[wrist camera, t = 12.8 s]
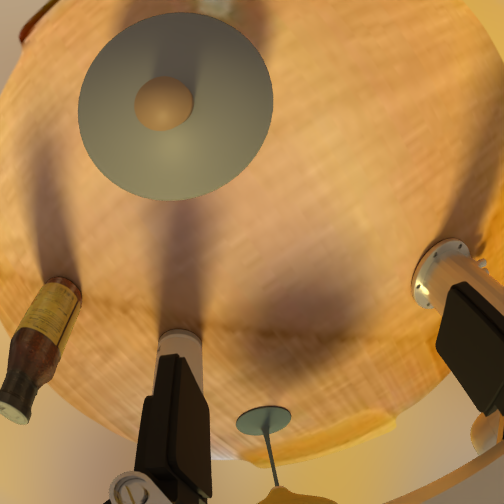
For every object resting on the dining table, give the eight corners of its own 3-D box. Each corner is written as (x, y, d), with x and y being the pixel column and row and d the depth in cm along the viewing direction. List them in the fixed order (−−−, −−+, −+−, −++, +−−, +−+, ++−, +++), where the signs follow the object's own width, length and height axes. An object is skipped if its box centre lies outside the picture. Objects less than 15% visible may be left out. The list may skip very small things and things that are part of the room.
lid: (236, -6, 19) (245, -35, 13) (293, 160, 26) (316, 176, 20) (61, 66, 19) (26, 60, 13) (124, 223, 26) (105, 253, 21)
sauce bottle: (39, 276, 34) (-31, 384, 16) (76, 272, 35) (10, 391, 17) (55, 315, 37) (4, 425, 19) (91, 313, 38) (46, 434, 20)
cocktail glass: (295, 439, 59) (321, 534, 37) (214, 442, 56) (225, 547, 34) (320, 392, 51) (363, 510, 29) (221, 395, 48) (238, 533, 26)
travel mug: (148, 337, 41) (130, 465, 23) (187, 321, 40) (186, 457, 22) (171, 364, 43) (167, 485, 26) (209, 351, 43) (219, 477, 25)
